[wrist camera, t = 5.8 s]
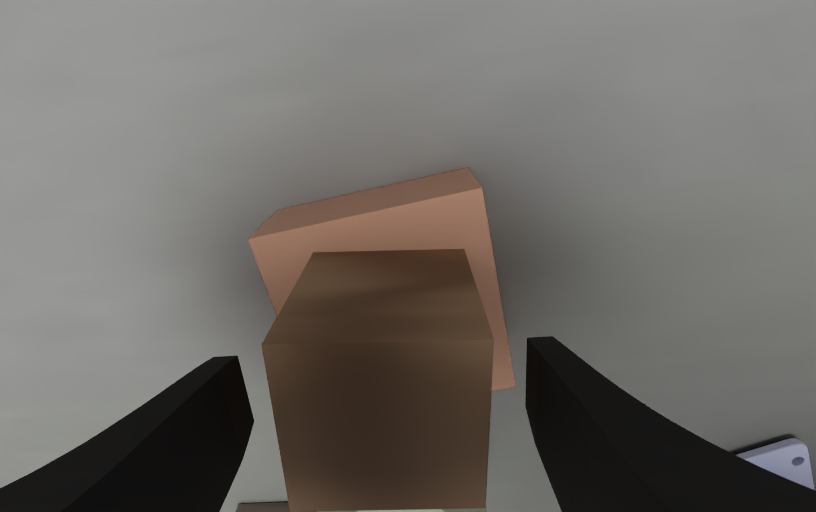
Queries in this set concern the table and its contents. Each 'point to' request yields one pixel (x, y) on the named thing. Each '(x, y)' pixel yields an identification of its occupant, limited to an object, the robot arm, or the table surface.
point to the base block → (390, 239)
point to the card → (265, 507)
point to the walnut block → (382, 383)
